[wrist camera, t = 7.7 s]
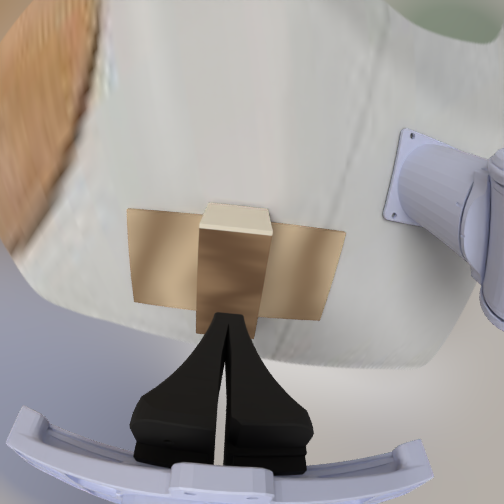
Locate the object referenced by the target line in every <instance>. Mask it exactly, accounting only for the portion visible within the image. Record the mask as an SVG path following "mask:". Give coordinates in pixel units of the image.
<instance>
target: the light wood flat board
mask: <svg viewBox="0 0 504 504" xmlns="http://www.w3.org/2000/svg"><path fill="white" fill-rule="evenodd" d="M202 217H203V215H201V214H190V213H179V212H168V211H156V210H144V209H131V208H128V209H127V229H128V246H129V259H130V270H131V279H132V288H133V296H134V302H138V303H144V304H151V305H158V306H165V307H172V308H180V309H188V310H196V298H197V265H198V242H199V224H200V221H201V219H202ZM271 225H272V229H273V234H272V240H271V246H270V252H269V258H268V263H267V269H266V275H265V280H264V286H263V292H262V297H261V303H260V308H259V314H258V317H268V318H282V319H298V320H318V321H320V318H321V315H322V312H323V309H324V306H325V303H326V300H327V297H328V294H329V291H330V288H331V284H332V281H333V278H334V275H335V271H336V268H337V264H338V261H339V257H340V254H341V250H342V247H343V243H344V239H345V236H346V233H345V232H344V231H336V230H329V229H322V228H314V227H307V226H299V225H291V224H283V223H274V222H271Z"/></svg>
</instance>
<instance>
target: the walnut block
mask: <svg viewBox="0 0 504 504" xmlns="http://www.w3.org/2000/svg"><path fill="white" fill-rule="evenodd" d="M272 234H273V229H272V225H271V221H270V217H269V212H268V209H263V208H255V207H246V206H237V205H228V204H218V203H208V205H207V207H206V210H205V212H204V214H203V217H202V219H201V221H200V224H199V242H198V265H197V298H196V333H197V334H205V333H206V331H207V330H208V328H209V326H210V324H211V322H212V319H213V317H214V314H215V313H216V312H222V313H232V314H242V315H243V316H244V320H245V324H246V328H247V330H248V333H249V336H250V338H251V339H254V336H255V330H256V325H257V319H258V314H259V308H260V303H261V297H262V292H263V286H264V280H265V275H266V269H267V263H268V258H269V252H270V246H271V240H272Z"/></svg>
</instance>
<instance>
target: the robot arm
mask: <svg viewBox="0 0 504 504" xmlns="http://www.w3.org/2000/svg"><path fill="white" fill-rule="evenodd" d="M411 133H412V135H413V137H412V138H410V134H411ZM393 213H395V215H394V216H393V217H392V214H393ZM383 217H384V218H385V219H387V220H390V221H396V222H401V223H406V224H411V225H416V226H421V227H424V228H425V229H427V230H428V231H429V232H431V233H432V234H433V235H435V236H436V237H437V238H438V239H440V240H441V241H442V242H443V243H445V244H446V245H447V246H448V247H450V248H451V249H452V250H453V251H455V252H456V253H457V254H458V255H459V256H461V257H462V258H463V259H464V260H465V261H466V262H468V263H469V265H470V267H471V276H472V277H473V278H474V279H475V280H476V281H477V282H478V283H479V284H481V289H480V297H479V298H480V305H481V308H482V310H483V312H484V314H485V316H486V317H487V318H488V320H489V321H490V322H491V323H492V324H493V325H495V326H496V327H497V328H499V329H500V330H502V331H504V148H502V149H499V150H498V151H497V152H496V153H495V154H494V155H493V156H491V157H490V158H489V159H486V158H482V157H479V156H476V155H473V154H470V153H466V152H463V151H460V150H458V149H456V148H454V147H452V146H450V145H447V144H445V143H443V142H441V141H438V140H436V139H433V138H431V137H429V136H426V135H424V134H421V133H419V132H416V131H413V130H411V129H407V128H404V129H402V131H401V134H400V140H399V145H398V151H397V156H396V161H395V165H394V170H393V174H392V179H391V183H390V187H389V192H388V196H387V200H386V203H385V207H384V211H383ZM224 363H225V371H226V395H227V406H226V424H225V443H224V461H223V466H221V465H214V450H215V434H216V420H217V419H216V418H217V404H218V397H219V391H220V386H221V380H222V375H223V369H224ZM130 429H131V431H132V433H133V435H134V437H135V439H136V441H137V442H136V446H135V451H134V452H131V451H127V450H124V449H120V448H116V447H113V446H109V445H106V444H103V443H100V442H97V441H94V440H91V439H87V438H85V437H82V436H79V435H76V434H74V433H71V432H69V431H66V430H64V429H61V428H59V427H57V426H54V425H52V424H50V423H49V421H48V420H47V419H46V418H45V417H44V416H43V415H42V414H40V413H38V412H36V411H34V410H32V409H30V408H28V407H26V406H22V408H21V410H20V412H19V415H18V417H17V418H16V421H15V423H14V425H13V427H12V429H11V431H10V434H9V436H8V438H7V441H6V444H7V445H8V446H9V447H10V448H11V449H12V450H14V451H15V452H16V453H17V454H18V455H19V456H21V457H22V458H23V459H24V460H26V461H27V462H28V463H29V464H30V465H32V466H34V467H36V468H38V469H39V470H41V471H43V472H45V473H47V474H49V475H51V476H53V477H55V478H57V479H59V480H61V481H63V482H65V483H67V484H69V485H71V486H74V487H76V488H78V489H80V490H83V491H85V492H87V493H90V494H92V495H95V496H97V497H100V498H103V499H106V500H108V501H111V502H114V503H117V504H378V503H381V502H384V501H387V500H390V499H393V498H396V497H399V496H402V495H405V494H407V493H409V492H411V491H412V490H414V489H416V488H418V487H419V486H421V485H423V484H424V483H426V482H427V481H429V480H431V479H432V478H433V477H434V475H433V472H432V469H431V466H430V463H429V460H428V458H427V455H426V452H425V449H424V447H423V444H422V441H421V439H417V440H414V441H410V442H406V443H403V444H401V445H399V446H397V447H396V448H395V449H394V450H393V451H392V452H389V453H385V454H380V455H376V456H371V457H367V458H361V459H356V460H350V461H343V462H337V463H329V464H320V465H310V466H306V460H305V455H306V454H307V451H306V445H307V444H308V442H309V441H310V439H311V438H312V437H313V434H314V432H313V426H312V423H311V420H310V417H309V415H308V412H307V410H305V409H304V408H303V407H302V406H300V405H299V404H298V403H297V402H296V401H295V400H294V399H293V398H291V397H290V396H289V395H288V394H287V393H286V392H285V390H284V389H283V388H282V387H281V386H280V385H279V384H278V383H277V381H276V380H275V379H274V378H273V377H272V375H271V374H270V372H269V371H268V369H267V368H266V366H265V365H264V363H263V362H262V360H261V358H260V356H259V355H258V353H257V351H256V349H255V347H254V345H253V343H252V340H251V338H250V336H249V333H248V330H247V328H246V324H245V320H244V316H243V315H242V314H232V313H222V312H216V313H215V314H214V317H213V319H212V322H211V324H210V326H209V328H208V330H207V331H206V333H205V335H204V336H203V338H202V340H201V341H200V343H199V344H198V345H197V347H196V348H195V350H194V351H193V352H192V354H191V355H190V356H189V357H188V358H187V360H186V361H185V362H184V363H183V364H182V365H181V366H180V367H179V368H178V369H177V370H176V371H175V372H174V373H173V374H172V375H171V376H169V377H168V378H167V379H166V380H165V381H163V382H162V383H161V384H159V385H158V386H157V387H156V388H154V389H152V390H151V391H149V392H148V393H146V394H145V395H143V396H142V397H141V398H140V400H139V402H138V403H137V405H136V407H135V410H134V412H133V414H132V418H131V422H130Z"/></svg>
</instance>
